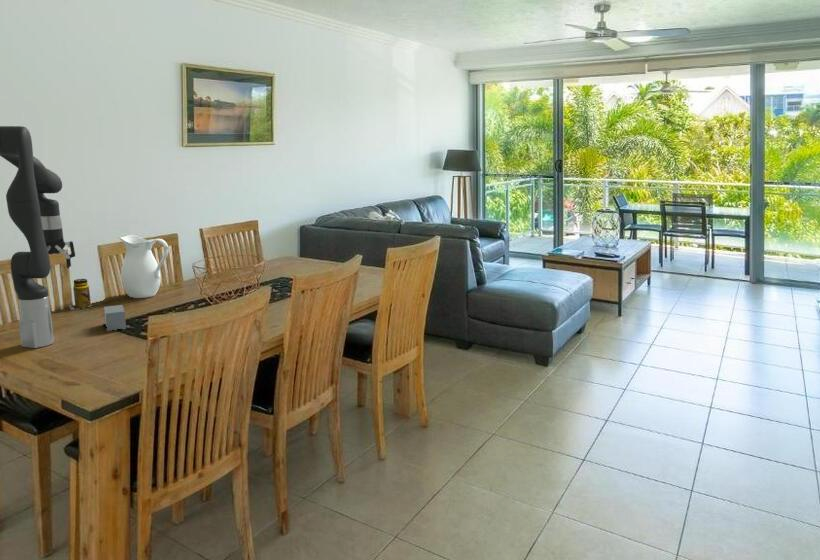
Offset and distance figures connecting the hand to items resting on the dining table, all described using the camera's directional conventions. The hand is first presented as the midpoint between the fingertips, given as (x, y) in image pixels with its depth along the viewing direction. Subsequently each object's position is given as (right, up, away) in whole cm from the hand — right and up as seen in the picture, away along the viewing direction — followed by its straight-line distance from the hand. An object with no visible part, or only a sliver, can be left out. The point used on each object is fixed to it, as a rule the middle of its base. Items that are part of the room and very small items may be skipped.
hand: (55, 269), depth 241 cm
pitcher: (+15, -12, +49) cm, 53 cm away
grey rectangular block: (+22, -22, +2) cm, 32 cm away
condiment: (-6, -16, +30) cm, 35 cm away
